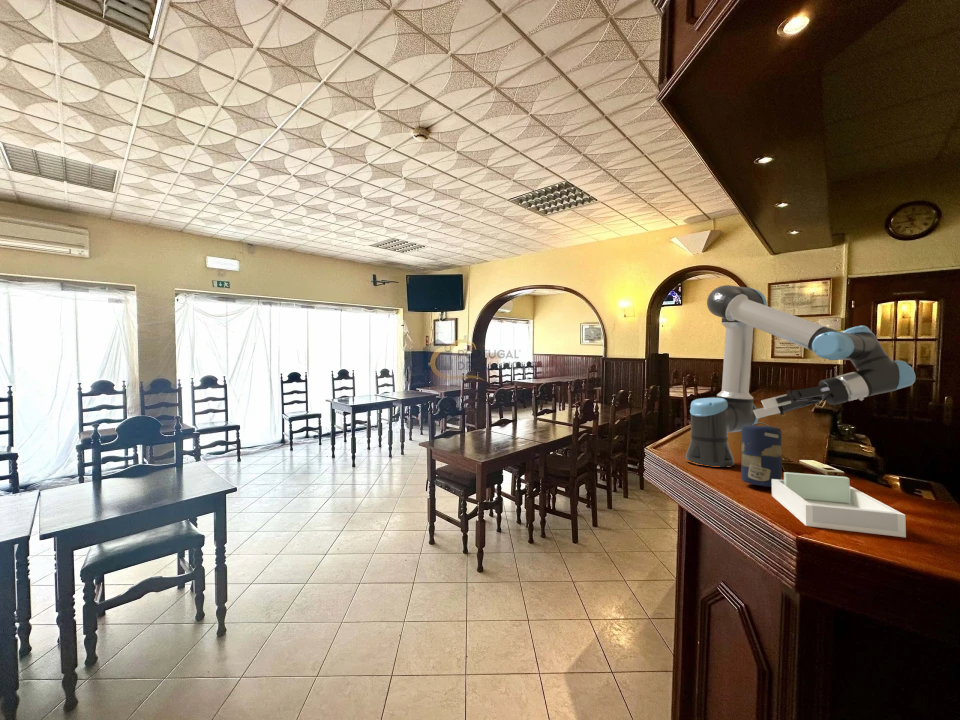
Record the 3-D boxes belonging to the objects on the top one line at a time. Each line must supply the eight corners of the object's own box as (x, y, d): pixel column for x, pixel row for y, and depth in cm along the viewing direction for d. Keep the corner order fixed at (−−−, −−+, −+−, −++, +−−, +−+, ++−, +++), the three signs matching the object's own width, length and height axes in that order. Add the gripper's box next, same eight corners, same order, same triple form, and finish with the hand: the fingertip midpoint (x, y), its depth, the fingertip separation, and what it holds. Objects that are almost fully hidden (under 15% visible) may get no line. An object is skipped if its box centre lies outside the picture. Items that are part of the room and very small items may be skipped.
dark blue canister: (766, 484, 117) (766, 423, 120) (790, 490, 108) (790, 424, 110) (733, 480, 118) (734, 420, 120) (754, 486, 108) (755, 421, 111)
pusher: (784, 495, 102) (783, 472, 102) (846, 501, 98) (846, 476, 98) (786, 497, 101) (786, 473, 101) (849, 503, 96) (849, 478, 96)
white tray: (771, 495, 106) (771, 478, 106) (849, 503, 100) (848, 485, 100) (806, 525, 85) (805, 504, 85) (905, 537, 79) (905, 514, 80)
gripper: (867, 390, 101) (773, 413, 108) (833, 410, 122) (757, 428, 129) (850, 364, 104) (760, 388, 111) (820, 388, 125) (747, 407, 132)
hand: (758, 410), depth 120 cm, fingers open, 13 cm apart
